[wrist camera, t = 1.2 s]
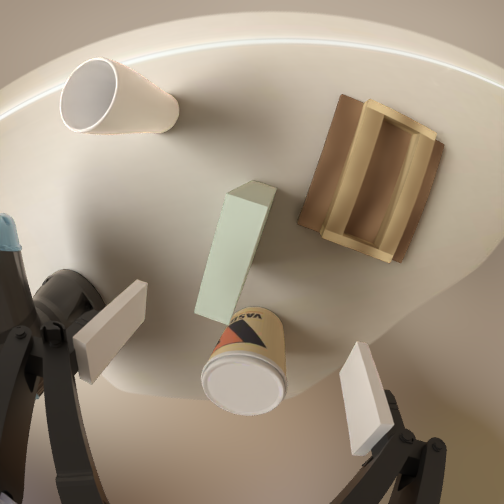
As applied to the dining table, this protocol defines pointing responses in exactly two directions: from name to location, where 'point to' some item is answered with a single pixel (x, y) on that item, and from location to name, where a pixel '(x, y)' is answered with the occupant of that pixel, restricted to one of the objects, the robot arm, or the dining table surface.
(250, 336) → the coffee cup
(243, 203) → the door panel
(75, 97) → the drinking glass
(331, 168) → the track board
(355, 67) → the dining table surface
